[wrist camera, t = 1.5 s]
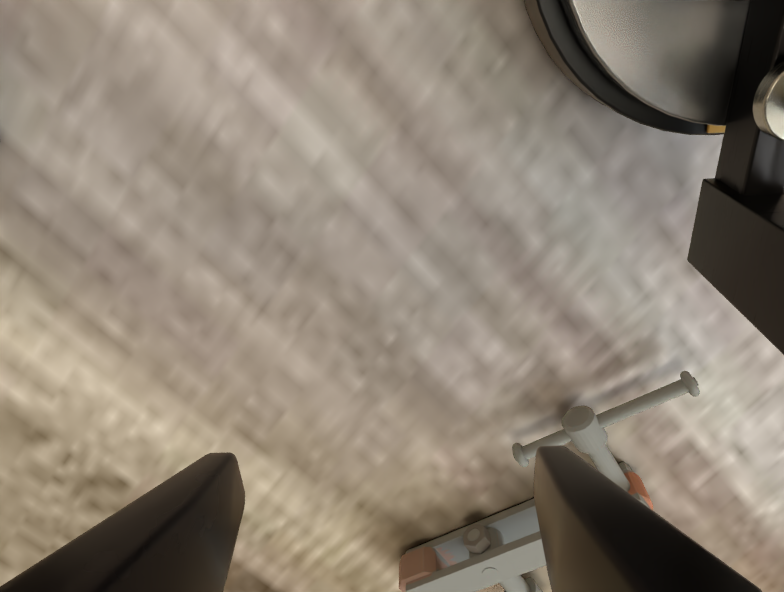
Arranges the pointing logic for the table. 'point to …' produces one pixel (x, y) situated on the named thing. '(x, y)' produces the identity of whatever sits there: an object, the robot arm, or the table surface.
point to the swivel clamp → (712, 107)
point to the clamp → (526, 511)
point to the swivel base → (598, 72)
